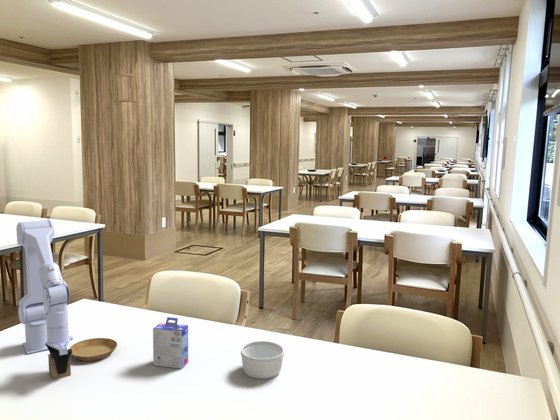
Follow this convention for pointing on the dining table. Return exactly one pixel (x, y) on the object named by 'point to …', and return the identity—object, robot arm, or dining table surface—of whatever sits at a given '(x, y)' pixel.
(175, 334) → the ink cartridge box
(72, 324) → the dining table surface
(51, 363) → the walnut block
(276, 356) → the ramekin
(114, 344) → the plant saucer
